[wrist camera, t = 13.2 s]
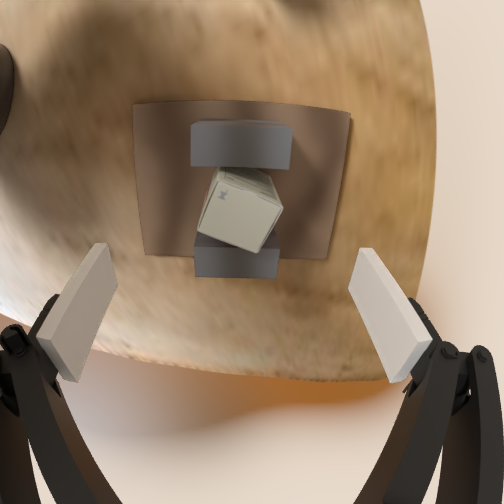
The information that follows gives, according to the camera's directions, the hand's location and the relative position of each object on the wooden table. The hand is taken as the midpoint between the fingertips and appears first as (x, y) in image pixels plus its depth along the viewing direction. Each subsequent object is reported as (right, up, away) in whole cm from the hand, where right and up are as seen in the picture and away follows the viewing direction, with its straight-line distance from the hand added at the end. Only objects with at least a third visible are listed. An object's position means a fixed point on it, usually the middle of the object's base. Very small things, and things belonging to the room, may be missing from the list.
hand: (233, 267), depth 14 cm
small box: (0, +7, +12) cm, 14 cm away
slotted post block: (0, +8, +13) cm, 15 cm away
